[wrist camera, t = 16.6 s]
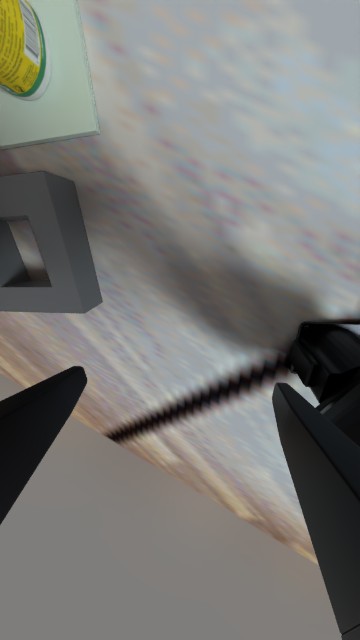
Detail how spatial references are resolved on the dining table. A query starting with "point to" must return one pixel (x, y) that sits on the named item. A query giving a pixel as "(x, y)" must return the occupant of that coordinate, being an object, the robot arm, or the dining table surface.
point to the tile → (54, 86)
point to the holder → (46, 247)
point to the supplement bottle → (23, 50)
